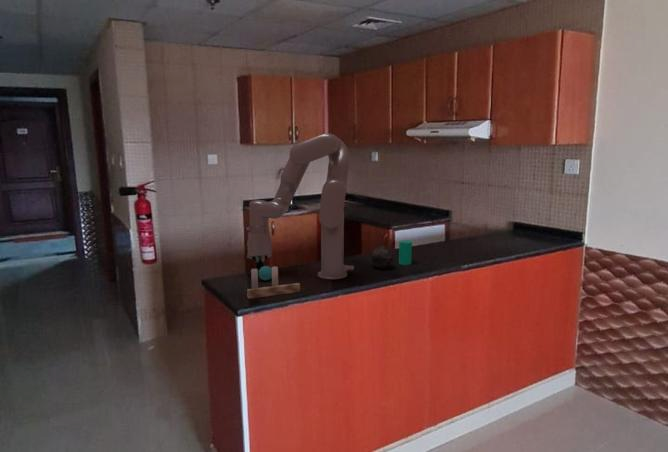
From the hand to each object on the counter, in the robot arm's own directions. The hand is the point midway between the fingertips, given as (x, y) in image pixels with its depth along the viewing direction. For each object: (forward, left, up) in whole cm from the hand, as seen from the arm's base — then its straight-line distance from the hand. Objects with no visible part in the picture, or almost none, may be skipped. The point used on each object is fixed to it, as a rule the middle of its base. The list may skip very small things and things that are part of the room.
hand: (259, 270), depth 202 cm
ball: (0, +10, +1) cm, 10 cm away
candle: (-68, +9, -2) cm, 69 cm away
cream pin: (0, +24, -2) cm, 24 cm away
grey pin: (+8, +24, -2) cm, 25 cm away
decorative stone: (-54, +12, -2) cm, 55 cm away
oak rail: (+2, +29, -2) cm, 29 cm away
